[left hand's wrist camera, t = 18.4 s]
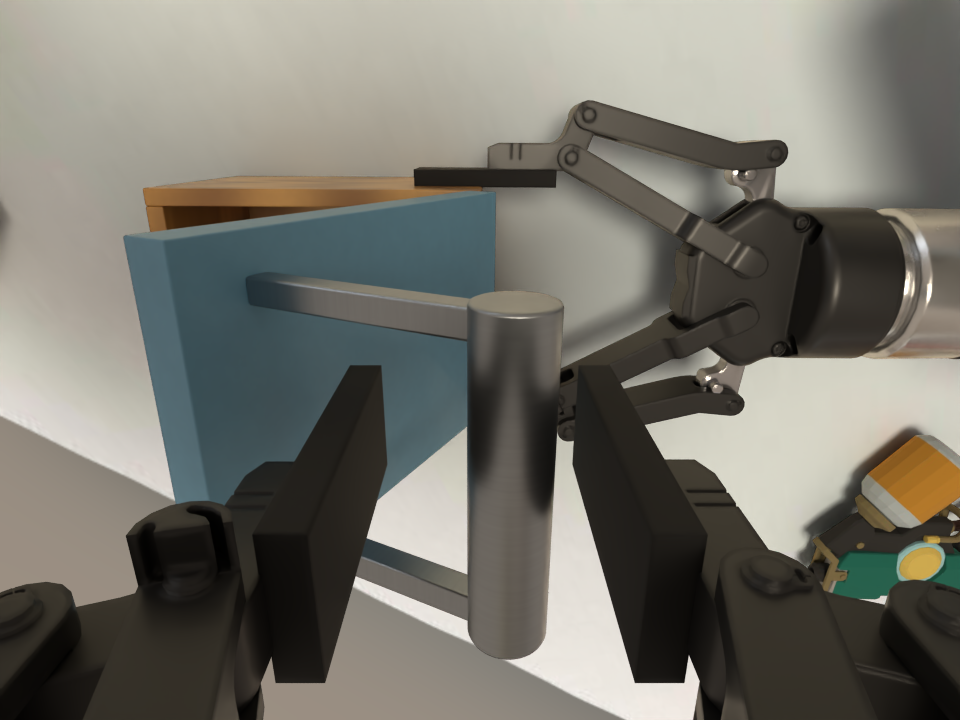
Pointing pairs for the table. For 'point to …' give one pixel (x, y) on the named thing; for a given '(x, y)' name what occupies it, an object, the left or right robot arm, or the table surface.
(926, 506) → the spray gun
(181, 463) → the lid
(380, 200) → the chest
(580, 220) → the table surface
